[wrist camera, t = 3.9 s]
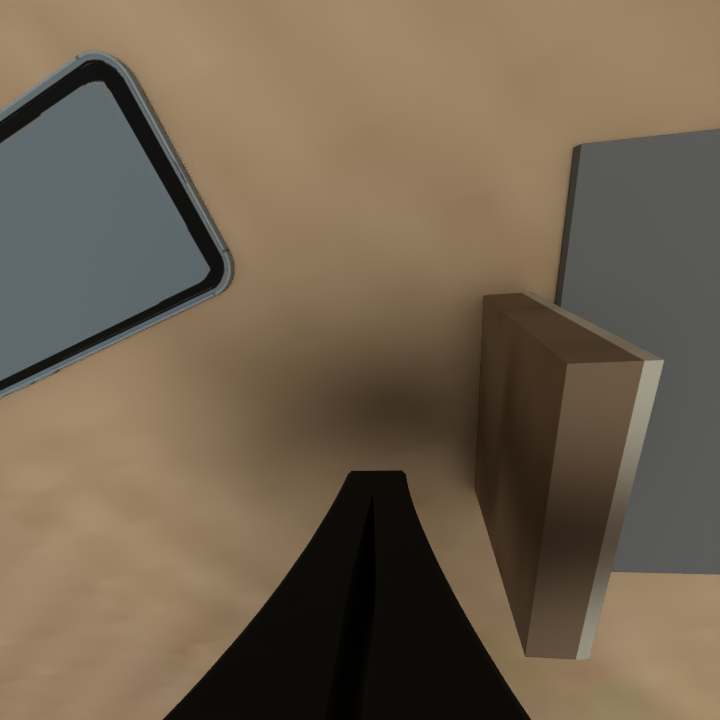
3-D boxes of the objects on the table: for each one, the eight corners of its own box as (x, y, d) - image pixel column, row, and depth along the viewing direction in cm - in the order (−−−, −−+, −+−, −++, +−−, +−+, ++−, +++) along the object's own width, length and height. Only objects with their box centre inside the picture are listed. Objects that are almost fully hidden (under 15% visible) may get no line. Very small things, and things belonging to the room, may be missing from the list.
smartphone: (243, 283, 12) (-55, 424, 15) (253, 279, 13) (-30, 413, 16) (105, 31, 9) (-213, 259, 12) (129, 47, 10) (-173, 257, 13)
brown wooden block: (512, 488, 14) (588, 659, 9) (474, 488, 14) (525, 656, 9) (531, 292, 11) (664, 360, 6) (483, 295, 11) (567, 363, 6)
